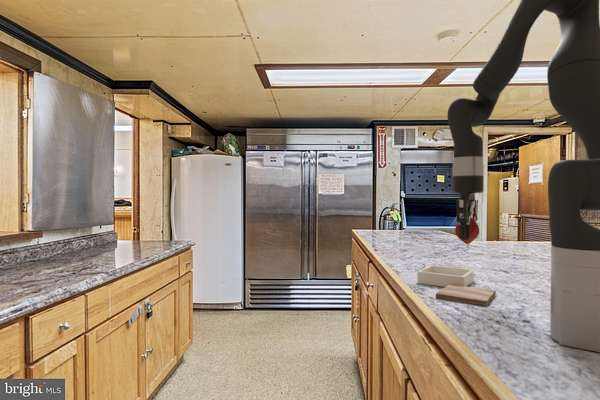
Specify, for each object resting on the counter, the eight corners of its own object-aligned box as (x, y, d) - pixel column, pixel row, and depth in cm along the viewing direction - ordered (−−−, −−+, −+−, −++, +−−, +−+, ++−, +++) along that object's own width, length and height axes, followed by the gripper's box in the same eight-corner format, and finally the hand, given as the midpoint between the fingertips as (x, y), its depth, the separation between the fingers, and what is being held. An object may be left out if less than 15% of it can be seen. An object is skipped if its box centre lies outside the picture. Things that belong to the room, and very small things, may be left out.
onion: (454, 244, 98) (454, 214, 98) (456, 242, 103) (456, 213, 103) (478, 246, 95) (479, 214, 95) (479, 243, 100) (479, 213, 100)
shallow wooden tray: (463, 289, 107) (464, 277, 107) (417, 282, 114) (417, 271, 114) (473, 281, 117) (474, 269, 117) (430, 275, 125) (430, 265, 125)
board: (486, 306, 90) (486, 301, 90) (435, 298, 97) (435, 293, 97) (495, 294, 101) (495, 290, 101) (449, 288, 108) (449, 284, 108)
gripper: (477, 173, 91) (476, 242, 91) (488, 175, 102) (488, 237, 102) (445, 174, 95) (444, 240, 95) (459, 176, 107) (459, 235, 107)
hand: (467, 238), depth 99 cm, fingers closed on onion, 6 cm apart
